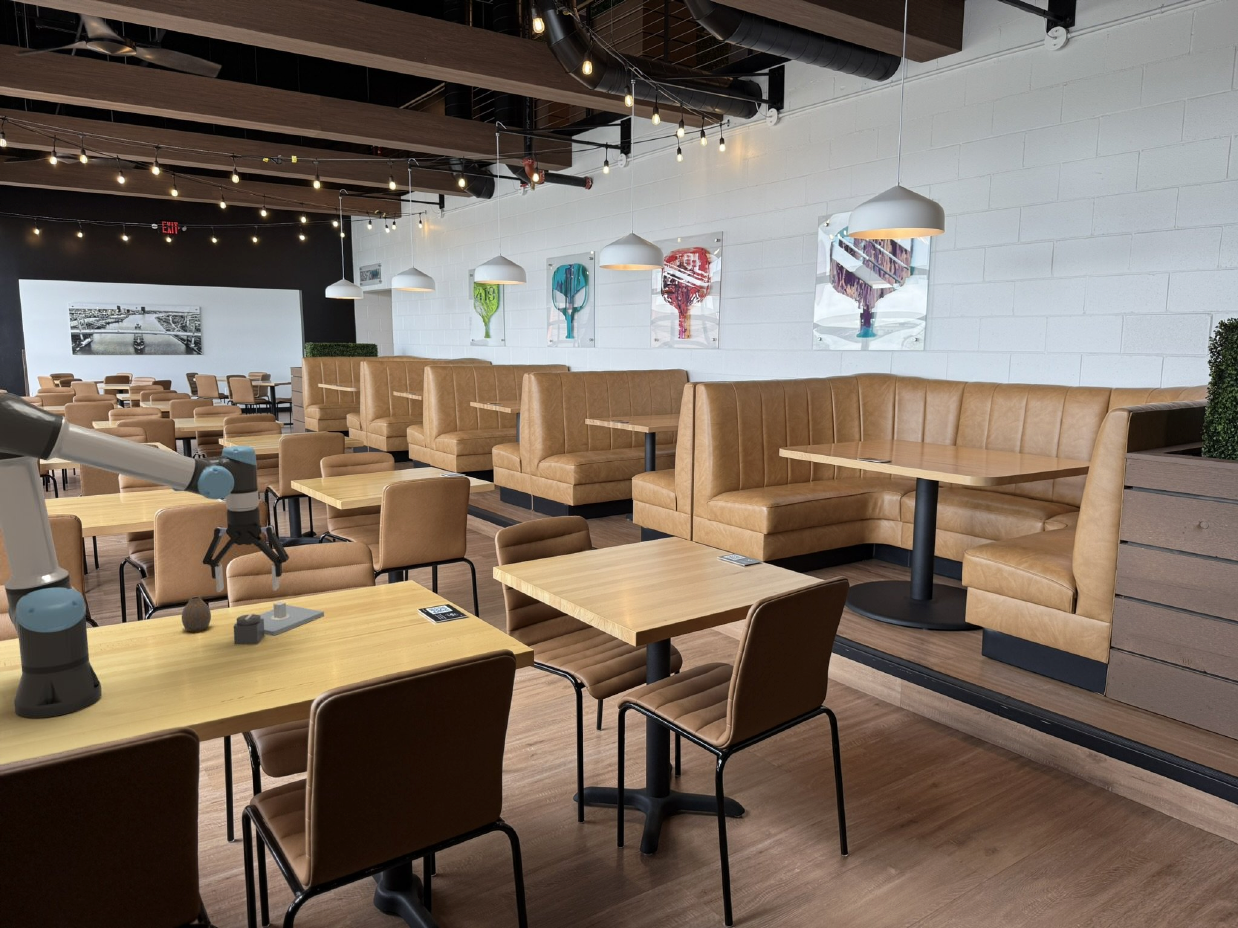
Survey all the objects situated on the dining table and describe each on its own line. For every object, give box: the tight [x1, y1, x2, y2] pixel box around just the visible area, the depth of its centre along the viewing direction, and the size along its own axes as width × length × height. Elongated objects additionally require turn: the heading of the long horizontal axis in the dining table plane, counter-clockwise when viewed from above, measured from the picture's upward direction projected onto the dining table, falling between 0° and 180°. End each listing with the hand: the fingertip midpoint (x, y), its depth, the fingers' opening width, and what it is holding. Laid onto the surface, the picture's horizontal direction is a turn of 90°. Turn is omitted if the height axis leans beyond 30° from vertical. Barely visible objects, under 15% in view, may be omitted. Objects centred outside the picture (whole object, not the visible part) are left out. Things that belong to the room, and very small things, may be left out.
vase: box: [181, 595, 212, 633], centre depth 217 cm, size 7×7×9 cm
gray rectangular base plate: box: [233, 601, 325, 637], centre depth 224 cm, size 18×14×5 cm
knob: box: [233, 613, 266, 646], centre depth 209 cm, size 6×6×6 cm
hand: (248, 589), depth 208 cm, fingers open, 13 cm apart
